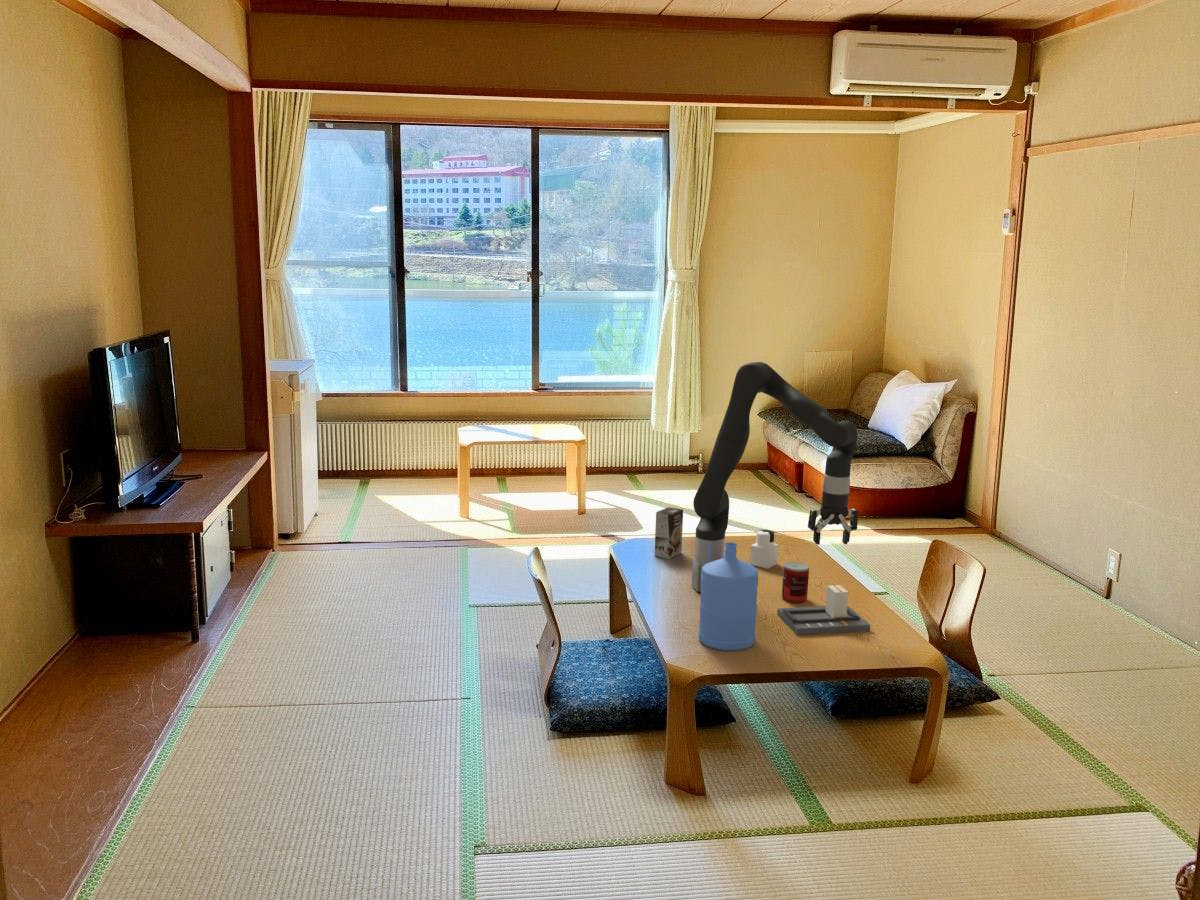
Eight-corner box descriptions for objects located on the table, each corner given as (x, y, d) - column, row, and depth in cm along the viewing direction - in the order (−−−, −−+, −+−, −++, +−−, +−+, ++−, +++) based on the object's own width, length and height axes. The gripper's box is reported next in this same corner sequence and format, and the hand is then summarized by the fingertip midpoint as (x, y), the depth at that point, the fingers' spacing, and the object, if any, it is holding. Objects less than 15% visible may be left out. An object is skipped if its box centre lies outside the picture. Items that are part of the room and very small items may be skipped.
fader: (833, 618, 292) (835, 592, 290) (825, 611, 297) (827, 585, 296) (846, 618, 292) (848, 591, 291) (838, 610, 298) (839, 584, 296)
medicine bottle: (759, 560, 352) (760, 526, 349) (777, 564, 348) (779, 530, 345) (749, 565, 346) (751, 531, 343) (768, 569, 342) (770, 535, 339)
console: (797, 635, 285) (797, 624, 284) (777, 614, 300) (777, 604, 300) (869, 631, 289) (870, 620, 288) (846, 611, 304) (847, 601, 304)
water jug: (764, 648, 275) (770, 550, 269) (711, 654, 271) (715, 554, 265) (740, 627, 290) (745, 534, 284) (689, 633, 285) (693, 538, 280)
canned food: (790, 593, 319) (792, 559, 317) (812, 599, 314) (814, 565, 311) (776, 598, 314) (778, 565, 312) (798, 605, 308) (800, 571, 306)
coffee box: (669, 559, 350) (671, 514, 347) (653, 556, 354) (655, 511, 350) (682, 553, 358) (684, 509, 354) (666, 549, 361) (668, 506, 358)
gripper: (817, 493, 286) (812, 548, 289) (864, 493, 288) (859, 547, 292) (807, 486, 293) (803, 540, 297) (853, 486, 296) (848, 539, 299)
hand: (831, 543), depth 294 cm, fingers open, 8 cm apart
